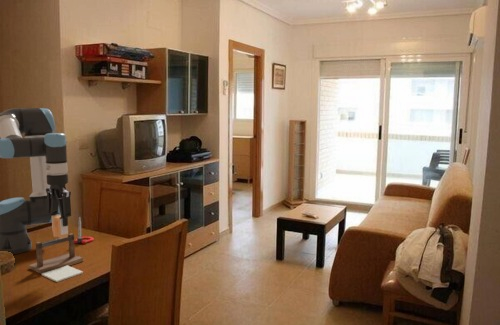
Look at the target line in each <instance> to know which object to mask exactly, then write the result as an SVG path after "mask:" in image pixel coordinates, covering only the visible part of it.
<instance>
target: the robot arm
mask: <svg viewBox="0 0 500 325" xmlns="http://www.w3.org/2000/svg"><path fill="white" fill-rule="evenodd" d="M22 134H24V137H23V136H22ZM67 142H68V141H67V136H66V134H65V133H63V132H56V122H55V118H54V115H53V113H52V111H51V110H50V109H49V108H43V107H42V108H41V107H36V108H35V107H30V108H29V107H28V108H27V107H26V108H25V107H24V108H22V107H21V108H19V107H17V108H16V107H14V108H9V109H6V110H3V111H2V112H0V158H1V159H18V158H19V159H20V158H29V162H30V174H31V175H30V176H31V184H32V187H31V188H32V193H31V194H30V195H29V199H27V200H26V199H25V198H24V197H21V196H19V197H11V198H7V199H4V200H1V201H0V251H8V252H11V253H13V255H18V254H22V253H25V252H28V251H30V250H31V249H32V248H33V245H32V244H33V243H32V240H31V237H30V236H29V234H28V231H27V229H28V228H27V226H33V225H34V226H35V225H42V224H50V223H51V230H52V232H53V220H52V217H53V216H58V215H61V217H59V218H60V232H61V235H64V234H69V223H68V222H69V221H68V218H69V217H71V216H72V206H71V205H72V204H71V203H72V202H71V194H72V193H71V191H70V190H67V188H66V184H67V185H68V183H69V174H68V171H69V169H68V168H69V167H68V155H67V153H68V150H67V145H68V143H67Z"/></svg>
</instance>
